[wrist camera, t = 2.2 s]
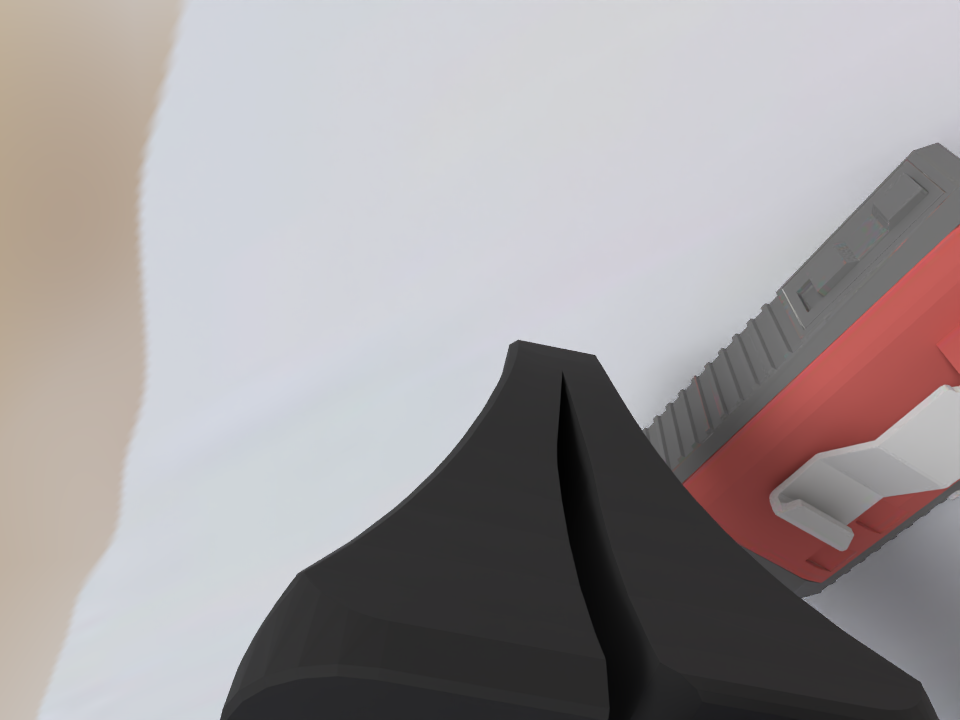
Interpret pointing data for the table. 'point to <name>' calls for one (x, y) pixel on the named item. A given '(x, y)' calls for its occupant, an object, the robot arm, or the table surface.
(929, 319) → the walkie-talkie
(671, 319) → the table surface
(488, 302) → the table surface
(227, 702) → the robot arm
